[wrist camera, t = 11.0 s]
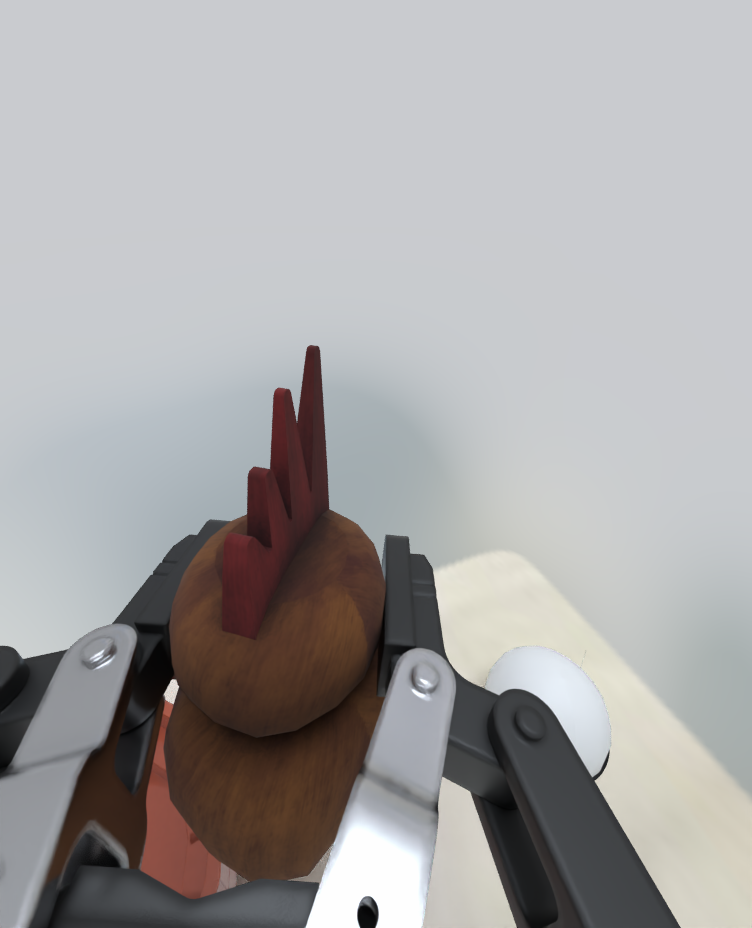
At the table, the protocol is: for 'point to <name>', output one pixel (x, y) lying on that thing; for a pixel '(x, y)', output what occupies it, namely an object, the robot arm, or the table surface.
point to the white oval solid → (560, 698)
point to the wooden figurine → (276, 661)
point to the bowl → (177, 838)
